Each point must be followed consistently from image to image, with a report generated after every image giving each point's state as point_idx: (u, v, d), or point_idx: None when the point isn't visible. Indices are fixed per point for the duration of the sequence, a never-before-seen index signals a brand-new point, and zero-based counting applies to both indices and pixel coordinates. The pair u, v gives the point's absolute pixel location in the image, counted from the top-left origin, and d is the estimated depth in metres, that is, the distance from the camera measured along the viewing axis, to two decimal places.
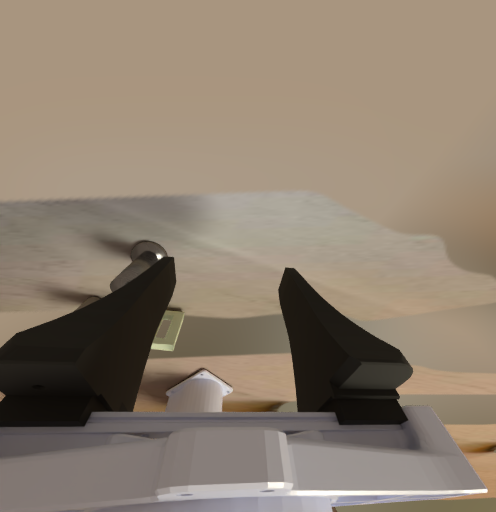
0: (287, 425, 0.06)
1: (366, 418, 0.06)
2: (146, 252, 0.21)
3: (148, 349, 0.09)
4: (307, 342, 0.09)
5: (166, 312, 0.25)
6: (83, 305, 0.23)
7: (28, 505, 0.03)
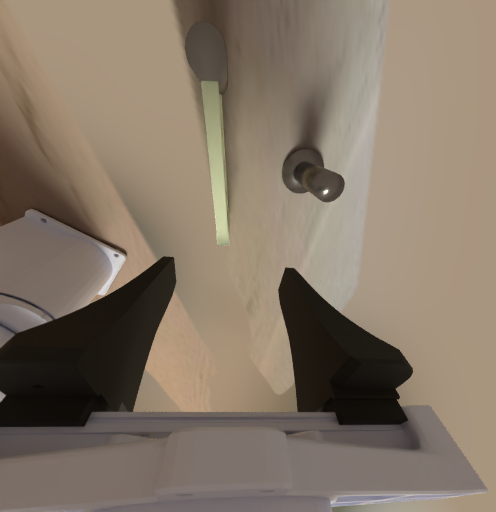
0: (287, 425, 0.06)
1: (366, 418, 0.06)
2: None
3: (148, 349, 0.09)
4: (307, 342, 0.09)
5: (227, 201, 0.19)
6: None
7: (28, 505, 0.03)
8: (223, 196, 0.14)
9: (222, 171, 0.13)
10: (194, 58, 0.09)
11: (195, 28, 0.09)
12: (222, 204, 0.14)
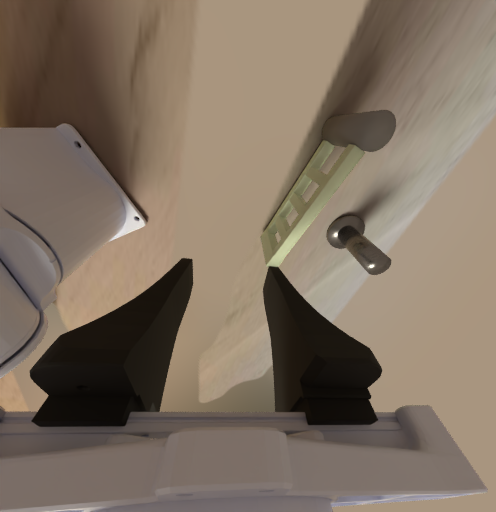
0: (287, 425, 0.06)
1: (334, 418, 0.06)
2: None
3: (171, 350, 0.09)
4: (284, 341, 0.08)
5: None
6: None
7: (28, 505, 0.03)
8: (302, 231, 0.15)
9: (316, 214, 0.14)
10: (366, 130, 0.11)
11: (383, 113, 0.10)
12: (296, 237, 0.15)
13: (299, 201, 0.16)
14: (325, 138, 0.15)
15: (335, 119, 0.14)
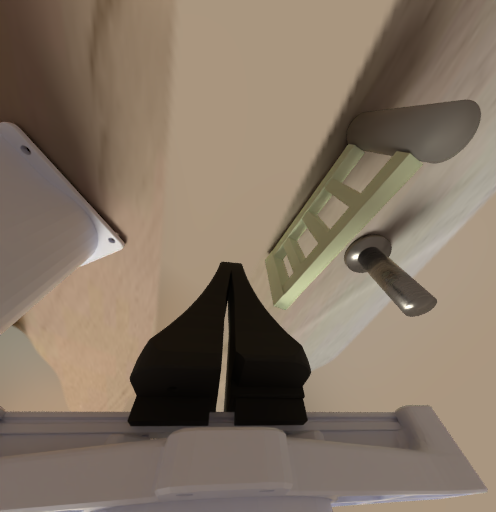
0: (287, 425, 0.06)
1: (261, 418, 0.06)
2: None
3: None
4: (231, 338, 0.08)
5: None
6: None
7: (28, 505, 0.03)
8: (323, 267, 0.11)
9: (344, 245, 0.10)
10: (433, 131, 0.07)
11: (464, 104, 0.07)
12: (315, 273, 0.11)
13: (317, 224, 0.12)
14: (352, 141, 0.12)
15: (369, 116, 0.10)
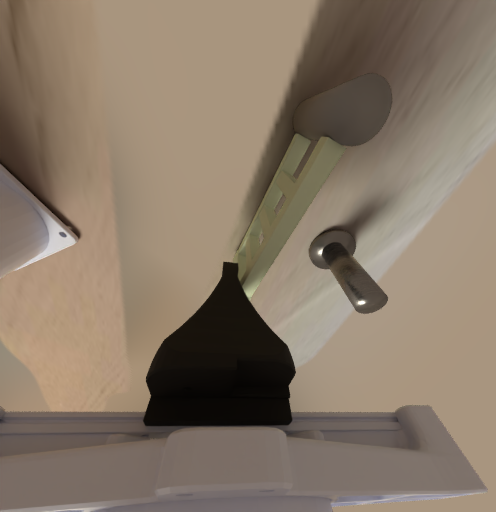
0: (287, 425, 0.06)
1: (245, 418, 0.06)
2: None
3: None
4: None
5: None
6: None
7: (28, 505, 0.03)
8: (269, 263, 0.11)
9: (286, 239, 0.10)
10: (342, 111, 0.07)
11: (368, 79, 0.06)
12: (263, 270, 0.11)
13: (266, 219, 0.11)
14: (297, 130, 0.11)
15: (306, 102, 0.10)
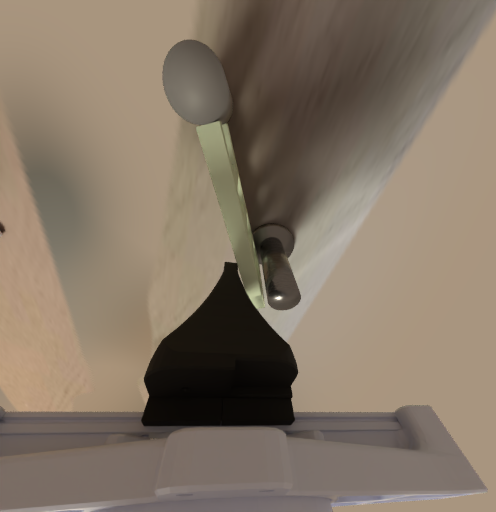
0: (287, 425, 0.06)
1: (247, 418, 0.06)
2: None
3: None
4: None
5: (253, 242, 0.15)
6: None
7: (28, 505, 0.03)
8: (249, 258, 0.10)
9: (244, 231, 0.09)
10: (180, 100, 0.06)
11: (172, 56, 0.06)
12: (250, 267, 0.11)
13: None
14: None
15: None
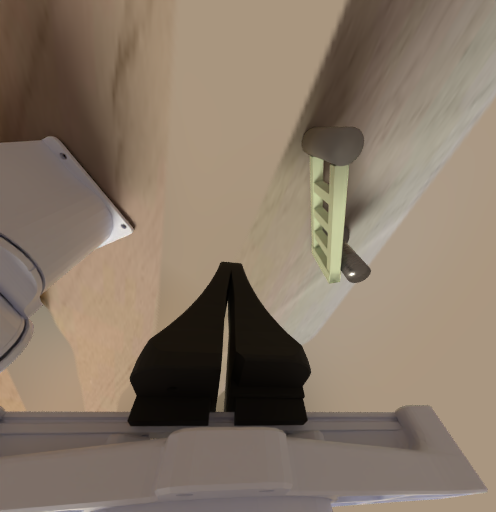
0: (287, 425, 0.06)
1: (261, 418, 0.06)
2: None
3: None
4: (231, 338, 0.08)
5: None
6: None
7: (28, 505, 0.03)
8: (340, 245, 0.15)
9: (342, 227, 0.14)
10: (335, 154, 0.11)
11: (339, 134, 0.11)
12: (338, 251, 0.16)
13: (322, 219, 0.16)
14: None
15: (307, 141, 0.15)
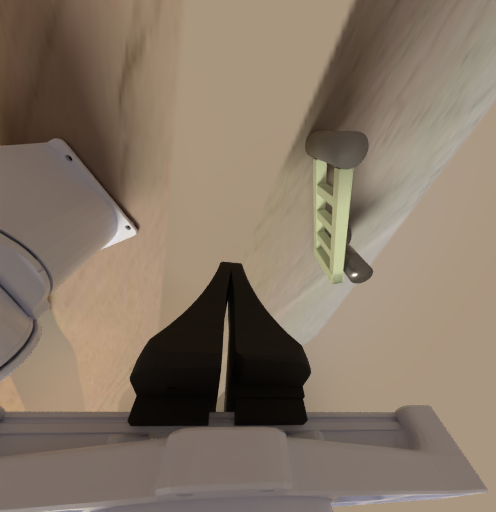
0: (287, 425, 0.06)
1: (261, 418, 0.06)
2: None
3: None
4: (231, 338, 0.08)
5: None
6: None
7: (28, 505, 0.03)
8: (343, 246, 0.16)
9: (346, 229, 0.15)
10: (340, 158, 0.11)
11: (345, 138, 0.11)
12: (341, 253, 0.16)
13: (325, 221, 0.17)
14: None
15: (311, 144, 0.15)
